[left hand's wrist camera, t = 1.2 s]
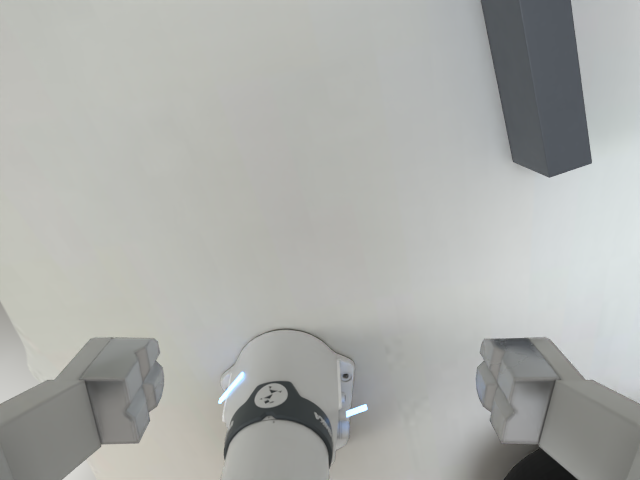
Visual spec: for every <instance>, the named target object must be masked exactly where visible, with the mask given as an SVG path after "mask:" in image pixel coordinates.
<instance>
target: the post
mask: <svg viewBox="0 0 640 480" xmlns="http://www.w3.org/2000/svg"><path fill="white" fill-rule="evenodd" d="M481 3H482V8H483V13H484V18H485V23H486V28H487V33H488V38H489V43H490V48H491V53H492V58H493V63H494V68H495V73H496V78H497V83H498V88H499V93H500V98H501V103H502V108H503V113H504V118H505V123H506V128H507V133H508V138H509V143H510V148H511V153H512V158H513V162H515V163H517V164H519V165H522V166H524V167H526V168H529V169H531V170H533V171H535V172H538V173H540V174H542V175H545V176H547V177H553V176H556V175H559V174H562V173H564V172H567V171H570V170H573V169H576V168H579V167H582V166H585V165H588V164H591V163H592V160H591V152H590V144H589V137H588V129H587V121H586V114H585V106H584V99H583V91H582V83H581V76H580V68H579V60H578V53H577V45H576V37H575V30H574V22H573V15H572V7H571V0H481Z"/></svg>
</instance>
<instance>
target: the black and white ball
mask: <svg viewBox="0 0 640 480" xmlns="http://www.w3.org/2000/svg"><path fill="white" fill-rule="evenodd" d="M504 480H578V479H577V478H576V477H574V476H573V475H572V474H571V473H570V472H569V471H567V470H566V469H565V468H564V467H563V466H562V465H560V464H559V463H558V462H557V461H556V460H554V459H553V458H552V457H551V456H550V455H549V454H547V453H546V452H545V451H544V450H543V449H539V450H537V451H535V452H533V453H532V454H530V455H528V456H527V457H525V458H524V459H523V460H521V461H520V462H519V463H518V464H517V465H516V466H515V467H514V468H513V469H512V470H511V471H510V472H509V473H508V474H507V476H506V477H505V479H504Z"/></svg>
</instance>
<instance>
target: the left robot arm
mask: <svg viewBox="0 0 640 480" xmlns="http://www.w3.org/2000/svg"><path fill="white" fill-rule="evenodd" d="M159 354H160V350H159V345H158V341H157V340H156V339H154V338H119V337H115V338H113V337H95V338H92V339H90V340H89V341H88V342H87V343H86V344H85V346H84V347H83V348H82V349H81V350H80V351H79V352H78V354H77V355H76V356H75V357H74V358H73V359H72V360H71V362H70V363H69V364H68V365H67V366H66V367H65V368H64V369H63V371H62V372H61V373H60V374H59V375H58V376H57V377H56V379H55V380H47V381H45V382H43V383H41V384H39V385H37V386H35V387H33V388H31V389H29V390H27V391H25V392H23V393H21V394H19V395H17V396H15V397H13V398H11V399H9V400H7V401H5V402H3V403H1V404H0V480H62V479H63V478H64V477H66V476H67V475H68V474H69V473H70V472H72V471H73V470H74V469H75V468H76V467H77V466H79V465H80V464H81V463H82V462H83V461H85V460H86V459H87V458H88V457H89V456H90V455H92V454H93V453H94V452H95V451H96V450H98V449H99V448H100V447H101V444H130V443H139V442H140V440H141V438H142V436H143V434H144V432H145V430H146V428H147V426H148V424H149V422H150V418H149V412H150V411H151V410H153V409H154V408H155V407H157V405H158V403H159V401H160V399H161V396H162V392H163V387H164V373H163V367H162V366H161V365H160V364H159V363H158V362H157V361H156V359H157V357H158V356H159ZM480 354H481V356H482V357H483V359H484V361H483V362H482V363H481V364H480V365H479V366H478V367H477V374H476V387H477V392H478V396H479V399H480V401H481V403H482V405H483V407H485V408H486V409H487V410H489V411H490V412H491V418H490V422H491V424H492V426H493V428H494V430H495V432H496V434H497V436H498V438H499V440H500V442H501V443H509V444H539V447H540V448H541V449H543V450H544V451H545V452H546V453H547V454H549V455H550V456H551V457H552V458H553V459H554V460H556V461H557V462H558V463H559V464H560V465H562V466H563V467H564V468H565V469H566V470H567V471H569V472H570V473H571V474H572V475H573V476H574V477H576V478H577V479H578V480H640V404H639V403H637V402H635V401H633V400H631V399H629V398H627V397H625V396H623V395H621V394H619V393H617V392H615V391H613V390H611V389H609V388H607V387H605V386H603V385H601V384H599V383H597V382H595V381H593V380H585V379H584V377H583V376H582V375H581V374H580V373H579V372H578V371H577V369H576V368H575V367H574V366H573V365H572V364H571V363H570V362H569V360H568V359H567V358H566V357H565V356H564V355H563V354H562V352H561V351H560V350H559V349H558V348H557V347H556V346H555V344H554V343H553V342H552V341H551V340H550V339H548V338H546V337H532V338H502V339H484V340H483V342H482V344H481V349H480ZM354 371H355V364H354V362H353V361H352V360H351V359H349V358H347V357H345V356H342V355H340V354H337V353H335V352H334V351H332V350H331V349H330V348H329V347H328V346H327V345H326V344H325V343H324V342H322V341H321V340H319V339H318V338H316V337H314V336H312V335H310V334H307V333H304V332H301V331H295V330H277V331H272V332H268V333H265V334H262V335H260V336H258V337H256V338H255V339H253V340H252V341H251V342H249V343H248V344H247V345H246V346H245V347H244V349H243V350H242V351H241V353H240V355H239V357H238V359H237V361H236V363H235V364H234V366H232V367H231V368H230V369H228V370H227V371H226V372H225V373H224V374H223V375H222V377H221V382H220V384H221V387H222V389H223V390H224V392H225V393H224V394H223V395H222V396H221V398H220V399H219V402H218V403H220V404H221V403H222V401H223V400H224V399H225V398H226V399H225V404H224V409H223V414H222V420H223V422H225V424H226V426H227V428H228V430H227V434H226V438H225V448H224V459H225V463H224V467H223V471H222V475H221V479H220V480H329V469H330V466H331V465H332V464H333V463H334V461H335V454H336V450H338V449H340V448H342V447H343V446H345V445H346V444H347V441H348V439H349V434H350V430H349V422H350V416H351V415H354V414H357V413H360V412H363V411H365V410H367V405H366V404H365V405H362V406H359V407H357V408H354V409H351V402H352V392H353V381H354ZM343 374H347V375H343Z"/></svg>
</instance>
